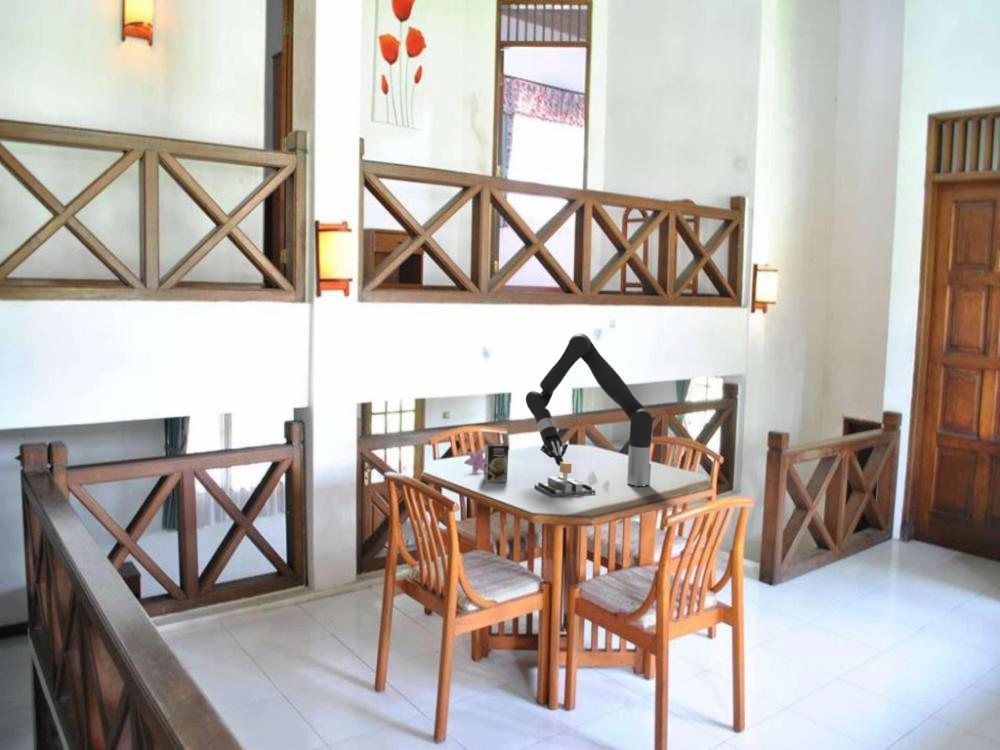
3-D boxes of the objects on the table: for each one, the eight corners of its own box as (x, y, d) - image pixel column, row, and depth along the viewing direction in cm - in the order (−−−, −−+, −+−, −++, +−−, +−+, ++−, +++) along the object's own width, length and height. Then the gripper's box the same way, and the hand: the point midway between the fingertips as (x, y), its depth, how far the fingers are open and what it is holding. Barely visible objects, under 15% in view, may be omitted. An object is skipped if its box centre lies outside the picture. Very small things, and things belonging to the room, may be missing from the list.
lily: (459, 475, 370) (466, 459, 366) (461, 460, 380) (468, 444, 376) (484, 483, 372) (491, 467, 367) (485, 468, 382) (493, 452, 378)
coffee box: (487, 482, 354) (488, 445, 352) (483, 479, 360) (484, 442, 358) (507, 482, 356) (509, 445, 354) (503, 478, 362) (505, 442, 360)
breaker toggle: (565, 484, 347) (566, 461, 346) (570, 487, 343) (571, 463, 342) (559, 485, 346) (560, 462, 344) (563, 487, 342) (564, 464, 341)
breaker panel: (575, 484, 356) (576, 474, 356) (595, 493, 342) (595, 483, 341) (534, 488, 348) (534, 477, 347) (552, 497, 333) (553, 486, 333)
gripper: (537, 426, 351) (550, 460, 342) (564, 425, 357) (577, 458, 347) (531, 436, 357) (543, 470, 347) (558, 435, 362) (571, 468, 353)
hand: (560, 464), depth 347 cm, fingers closed
